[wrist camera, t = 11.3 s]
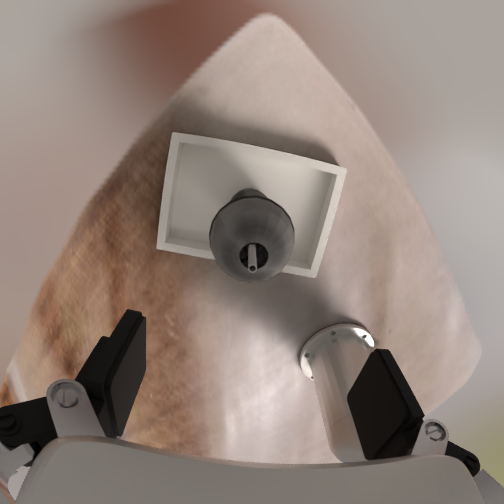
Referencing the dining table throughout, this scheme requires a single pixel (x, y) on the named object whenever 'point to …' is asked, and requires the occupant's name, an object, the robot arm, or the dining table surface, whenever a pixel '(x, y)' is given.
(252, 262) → the beverage cup
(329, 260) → the dining table surface
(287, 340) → the dining table surface
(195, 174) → the tray
